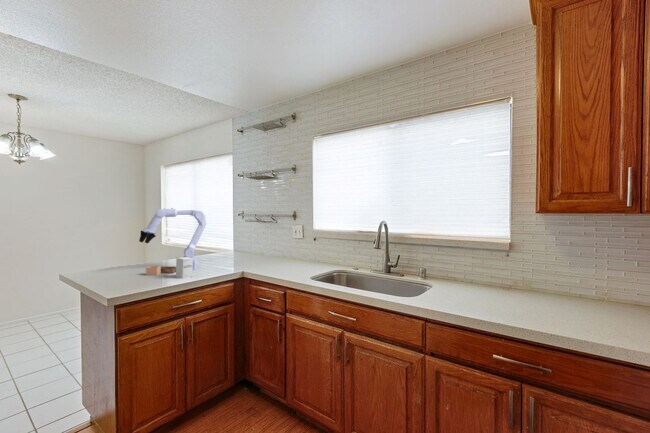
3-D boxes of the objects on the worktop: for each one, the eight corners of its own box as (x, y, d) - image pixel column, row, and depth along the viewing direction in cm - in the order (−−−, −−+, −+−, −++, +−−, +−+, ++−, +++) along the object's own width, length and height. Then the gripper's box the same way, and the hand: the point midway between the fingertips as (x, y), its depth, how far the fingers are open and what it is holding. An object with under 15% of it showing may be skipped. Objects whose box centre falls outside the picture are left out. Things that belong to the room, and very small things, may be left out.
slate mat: (175, 271, 216) (176, 270, 216) (164, 276, 199) (164, 275, 199) (157, 270, 215) (157, 270, 215) (144, 275, 198) (144, 275, 198)
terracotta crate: (160, 273, 205) (160, 266, 205) (156, 275, 200) (157, 267, 200) (149, 273, 204) (150, 266, 204) (145, 275, 199) (146, 267, 199)
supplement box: (182, 278, 194) (182, 259, 193) (175, 277, 198) (176, 257, 197) (192, 276, 200) (193, 257, 200) (186, 275, 204) (186, 256, 204)
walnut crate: (178, 270, 216) (178, 266, 216) (172, 273, 206) (172, 269, 206) (161, 270, 215) (162, 266, 215) (155, 273, 206) (155, 268, 206)
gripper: (153, 223, 219) (143, 240, 216) (143, 220, 205) (132, 238, 202) (162, 228, 219) (152, 245, 216) (152, 225, 205) (142, 243, 202)
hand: (143, 242), depth 209 cm, fingers open, 7 cm apart
